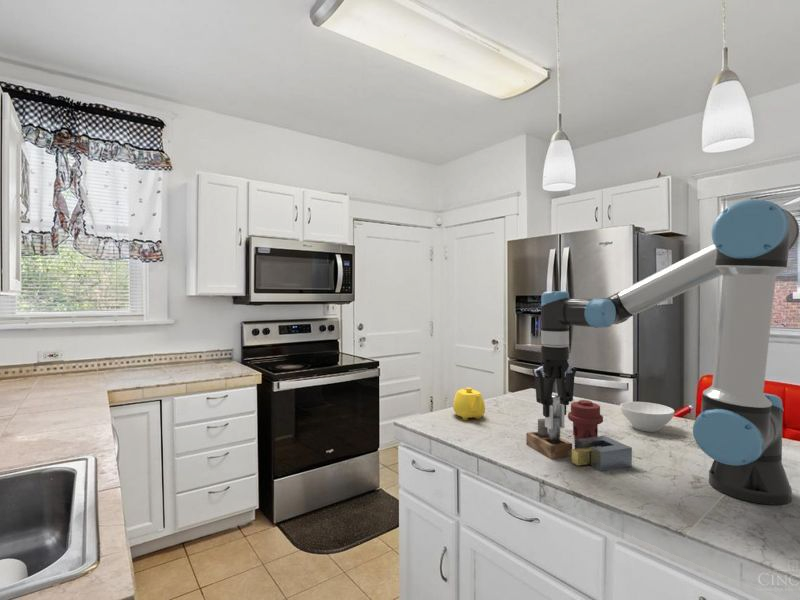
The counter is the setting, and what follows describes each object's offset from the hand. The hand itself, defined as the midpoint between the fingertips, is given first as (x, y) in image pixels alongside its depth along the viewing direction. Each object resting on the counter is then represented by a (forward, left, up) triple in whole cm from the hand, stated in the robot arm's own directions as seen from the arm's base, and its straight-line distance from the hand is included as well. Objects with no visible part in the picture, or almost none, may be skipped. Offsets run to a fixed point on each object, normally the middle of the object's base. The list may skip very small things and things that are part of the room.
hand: (554, 427), depth 126 cm
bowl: (+10, -43, -8) cm, 45 cm away
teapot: (+40, +7, -8) cm, 41 cm away
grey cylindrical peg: (0, 0, -6) cm, 6 cm away
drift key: (-9, -3, -7) cm, 12 cm away
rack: (+3, 0, -8) cm, 8 cm away
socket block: (-9, -8, -8) cm, 15 cm away
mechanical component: (+6, -15, -8) cm, 18 cm away
